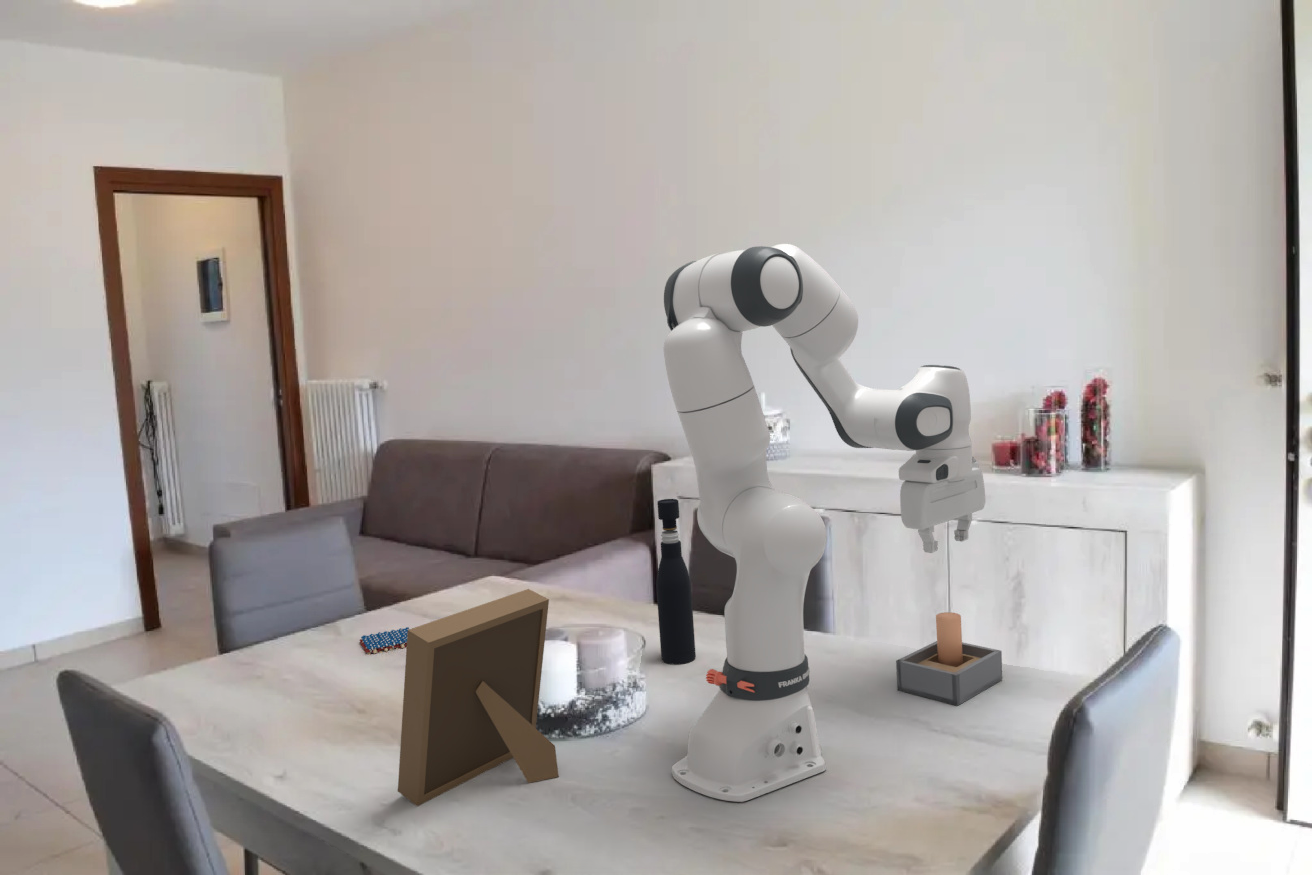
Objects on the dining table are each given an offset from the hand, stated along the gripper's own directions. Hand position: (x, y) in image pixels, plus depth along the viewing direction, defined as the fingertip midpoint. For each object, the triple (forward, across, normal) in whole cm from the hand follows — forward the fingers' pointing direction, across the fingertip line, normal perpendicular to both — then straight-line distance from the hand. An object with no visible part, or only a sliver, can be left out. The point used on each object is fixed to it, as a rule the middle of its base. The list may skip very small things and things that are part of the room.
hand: (946, 546), depth 166 cm
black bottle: (+23, +21, -44) cm, 54 cm away
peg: (+22, 0, 0) cm, 22 cm away
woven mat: (+24, +51, -100) cm, 115 cm away
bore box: (+23, +3, +2) cm, 23 cm away
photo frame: (+23, +72, -29) cm, 81 cm away
